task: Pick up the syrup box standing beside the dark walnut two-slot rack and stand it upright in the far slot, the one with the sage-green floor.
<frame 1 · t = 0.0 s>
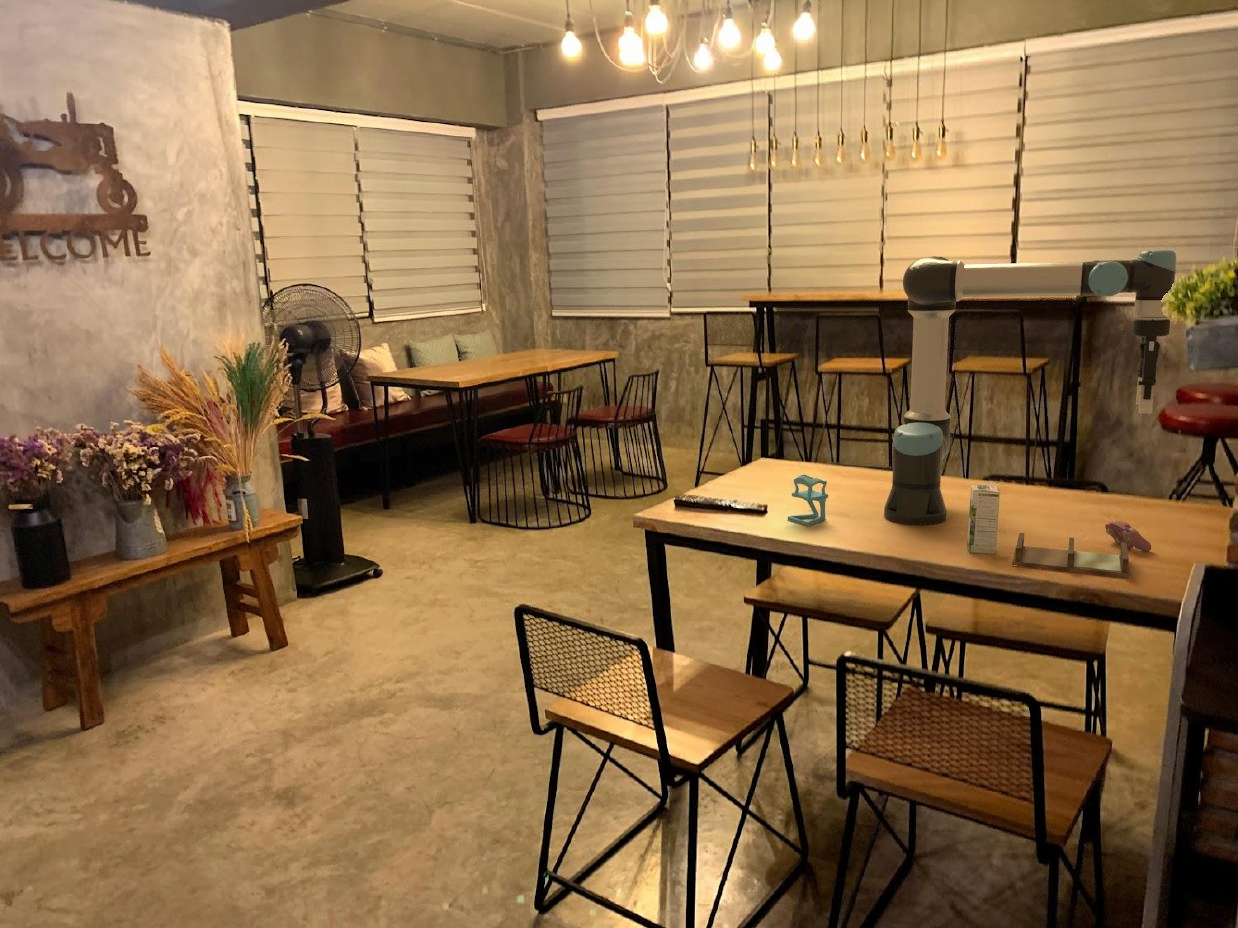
hand: (1143, 409, 217), 28 cm above the table, tool pointing down, fingers open, 13 cm apart
chair: (809, 521, 233), on the table
syrup box: (981, 550, 206), on the table
slot rack: (1069, 563, 195), on the table
video game controller: (1126, 547, 205), on the table
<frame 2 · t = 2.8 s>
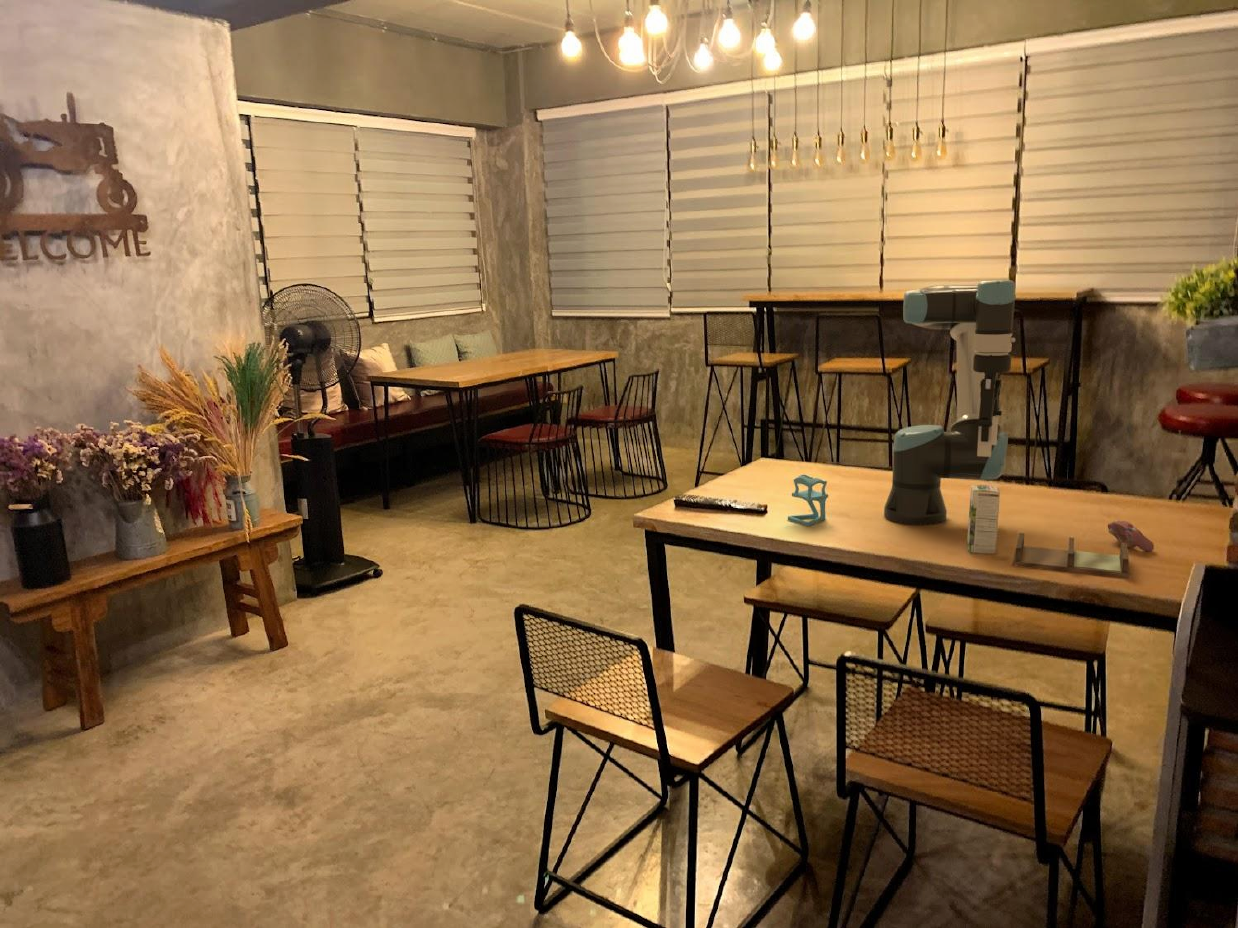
hand: (987, 450, 201), 23 cm above the table, tool pointing down, fingers open, 13 cm apart
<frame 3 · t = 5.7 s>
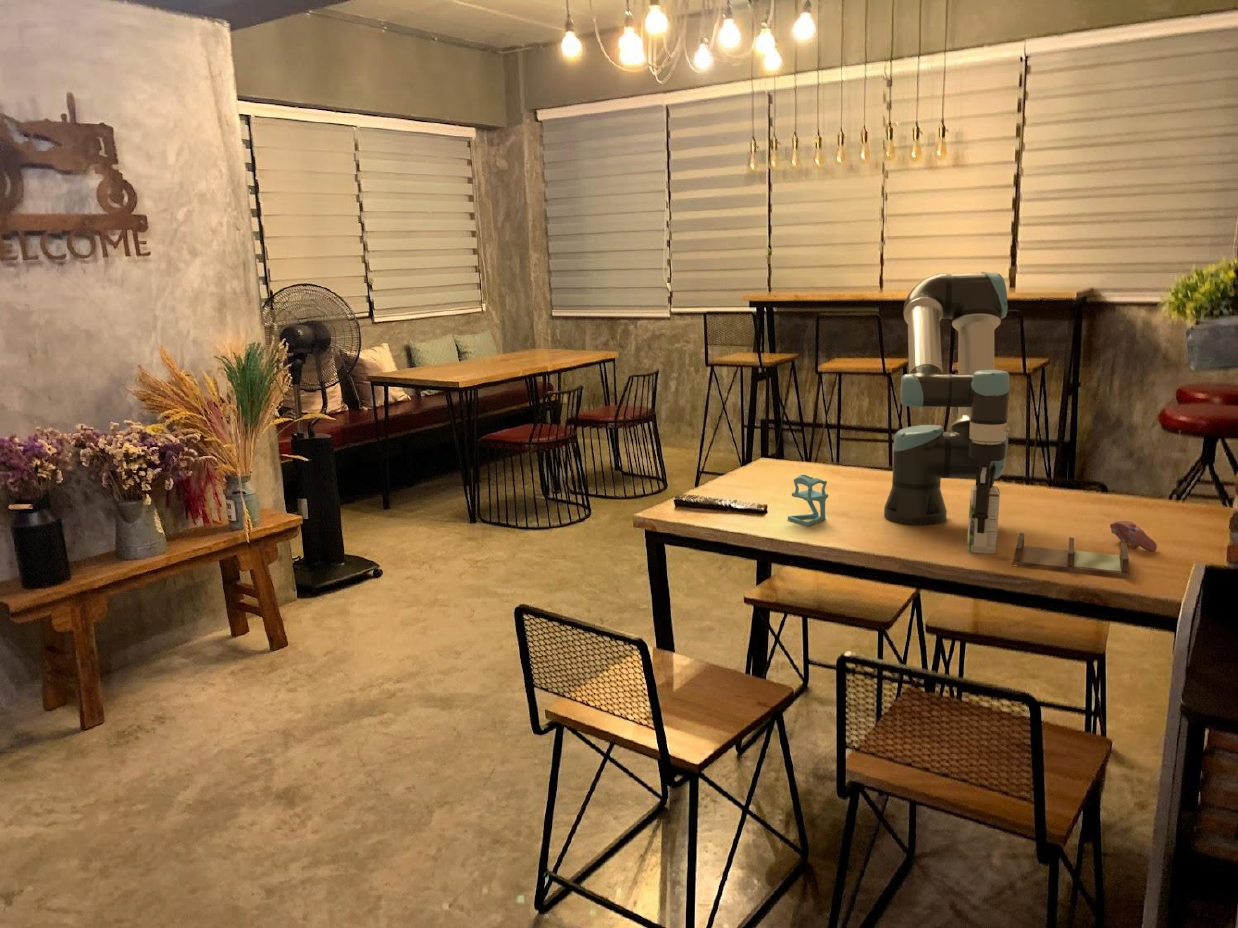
hand: (981, 541, 205), 2 cm above the table, tool pointing down, fingers closed on syrup box, 6 cm apart
syrup box: (981, 550, 206), on the table, touching gripper
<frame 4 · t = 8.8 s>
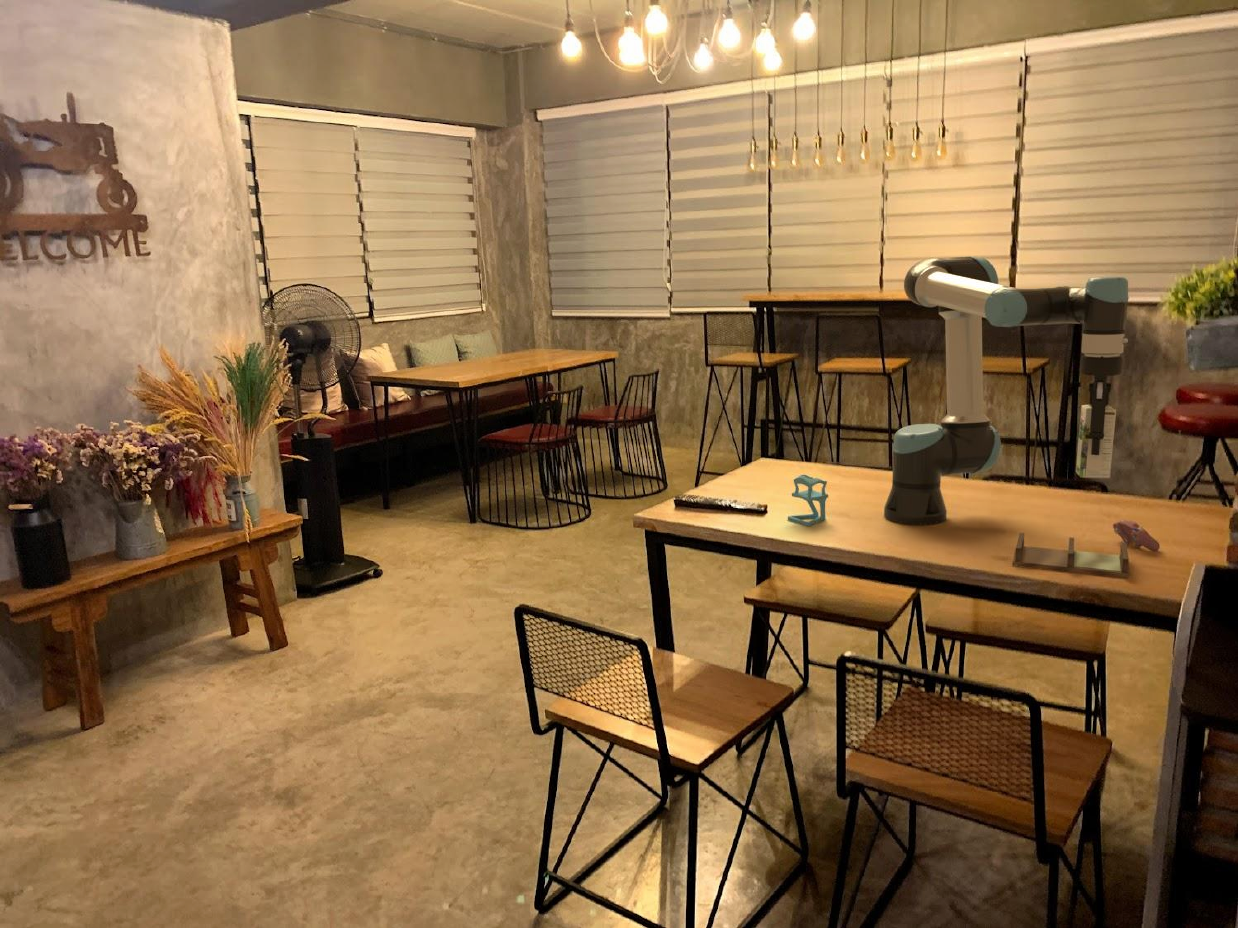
hand: (1094, 466, 189), 21 cm above the table, tool pointing down, fingers closed on syrup box, 6 cm apart
syrup box: (1092, 476, 190), point 19 cm above the table, touching gripper
when the fingers open (4 cm above the table, at t = 12.0 s): syrup box drops 1 cm, resting on slot rack.
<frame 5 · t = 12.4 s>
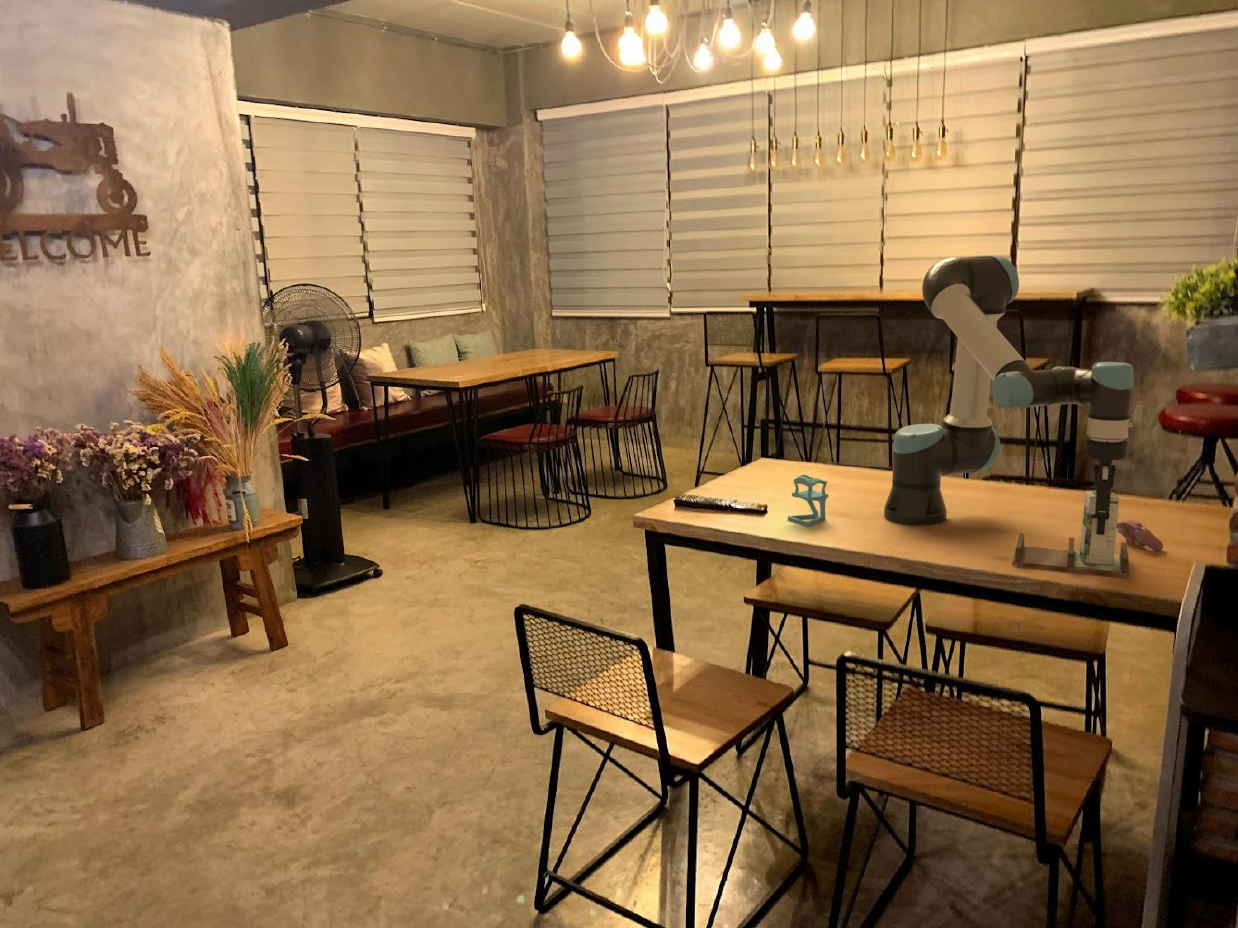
hand: (1098, 540, 192), 6 cm above the table, tool pointing down, fingers open, 11 cm apart
syrup box: (1096, 561, 193), point 1 cm above the table, touching slot rack
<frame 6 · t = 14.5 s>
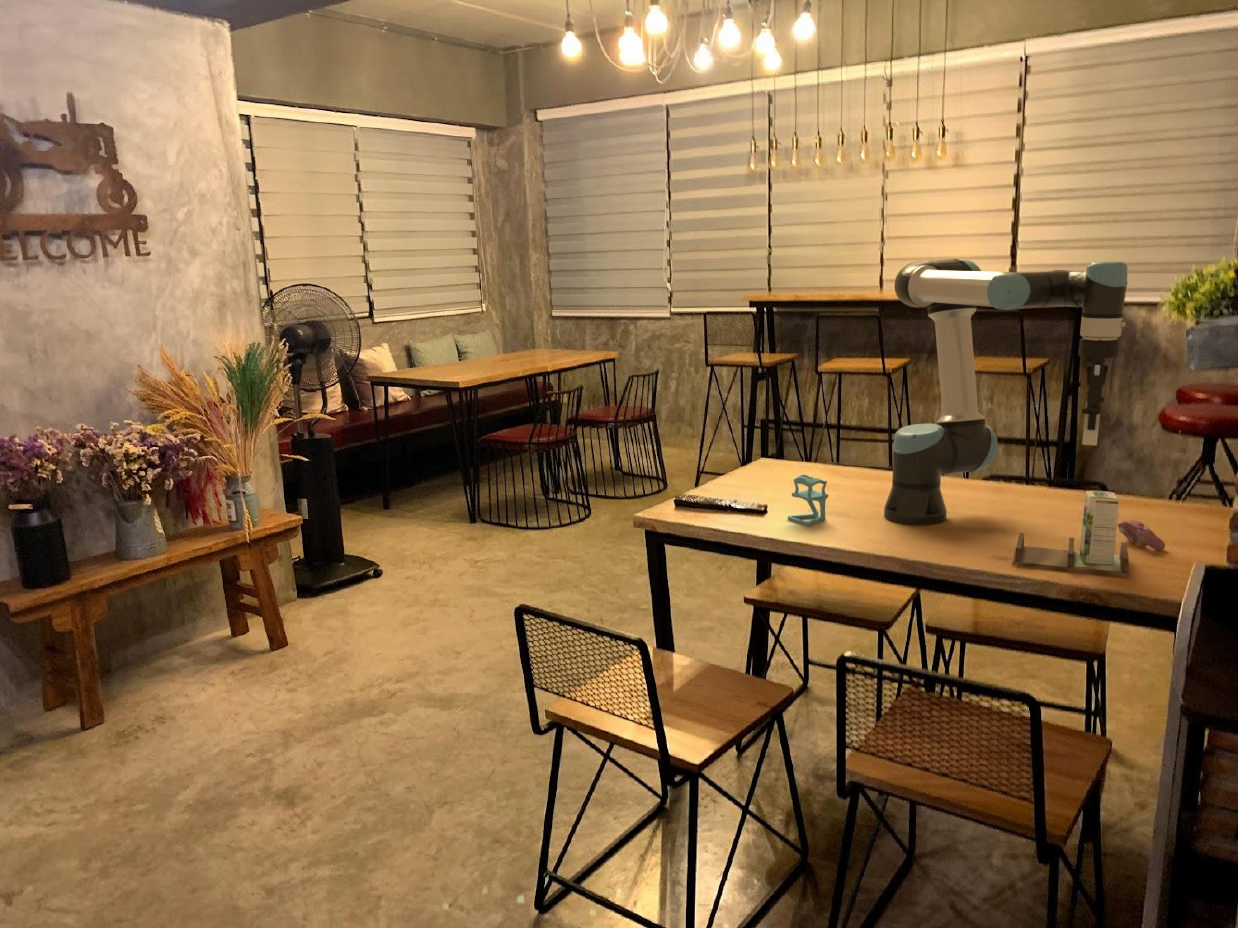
hand: (1089, 438, 194), 26 cm above the table, tool pointing down, fingers open, 13 cm apart
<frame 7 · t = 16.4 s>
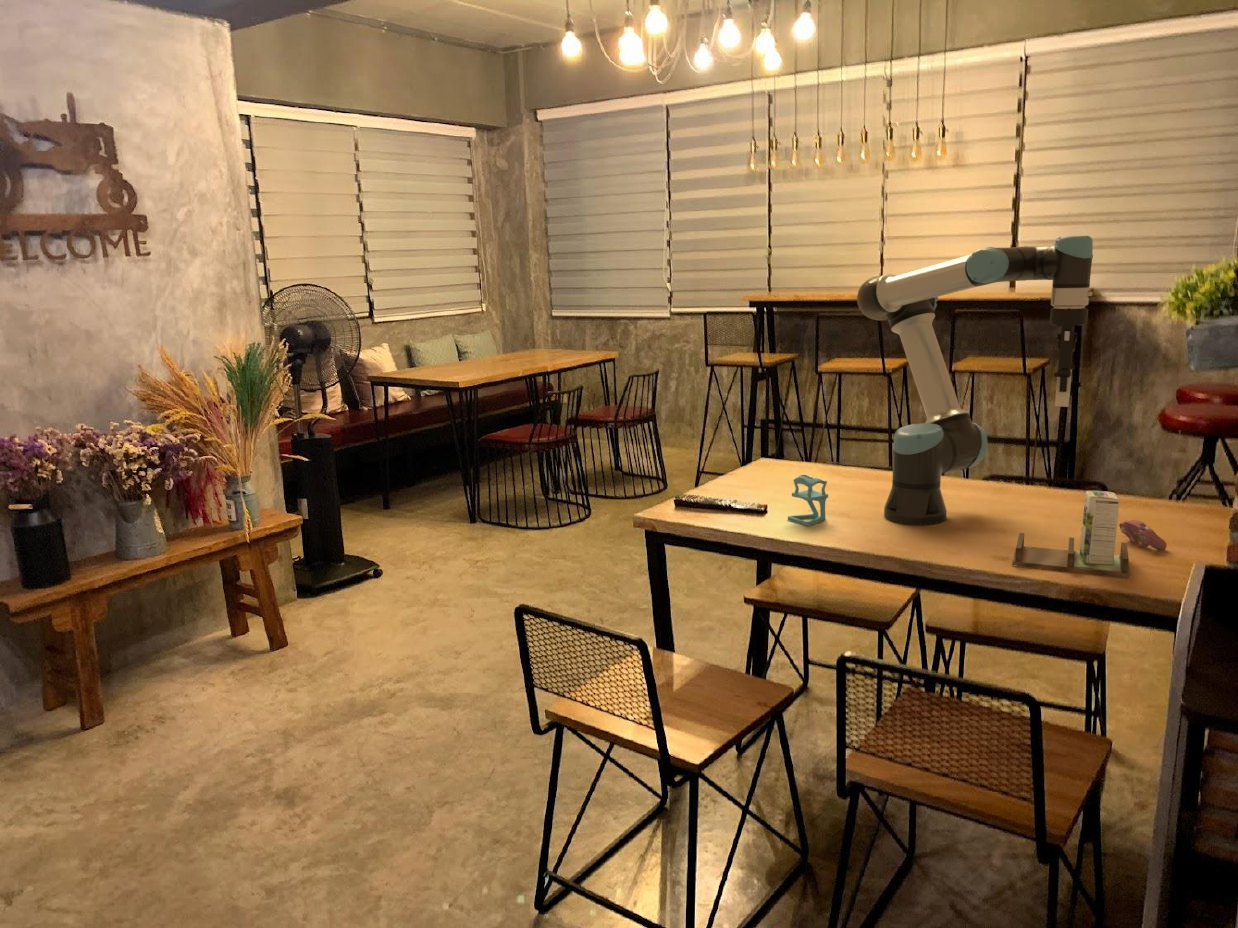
hand: (1062, 402, 208), 32 cm above the table, tool pointing down, fingers open, 13 cm apart
at the end: syrup box 0.1 cm from the target spot on the slot rack, point 1.0 cm above the slot rack's base; syrup box tilted 0°; the gripper is holding nothing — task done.
